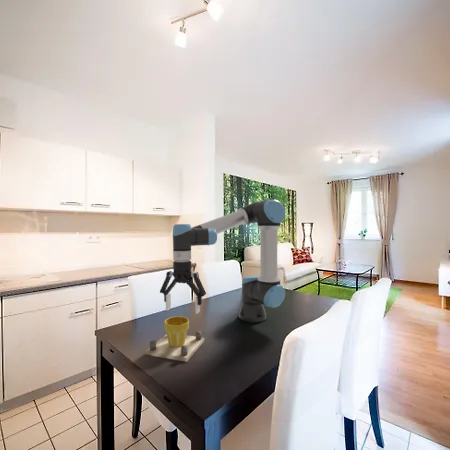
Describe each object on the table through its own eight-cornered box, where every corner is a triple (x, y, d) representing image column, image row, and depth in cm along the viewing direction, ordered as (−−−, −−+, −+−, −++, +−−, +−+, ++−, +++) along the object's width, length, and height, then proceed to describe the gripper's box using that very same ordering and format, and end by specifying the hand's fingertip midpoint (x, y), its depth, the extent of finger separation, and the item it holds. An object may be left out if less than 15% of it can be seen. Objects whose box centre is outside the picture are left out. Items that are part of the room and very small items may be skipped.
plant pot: (158, 346, 104) (159, 322, 104) (172, 336, 114) (173, 314, 114) (180, 351, 100) (180, 327, 100) (193, 340, 110) (193, 318, 110)
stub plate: (204, 341, 113) (204, 331, 113) (186, 361, 96) (186, 349, 96) (168, 335, 118) (168, 326, 118) (145, 354, 101) (145, 343, 101)
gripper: (151, 260, 106) (151, 311, 106) (206, 263, 99) (207, 317, 99) (160, 258, 113) (161, 305, 114) (213, 260, 106) (213, 310, 106)
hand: (182, 311), depth 106 cm, fingers open, 13 cm apart
